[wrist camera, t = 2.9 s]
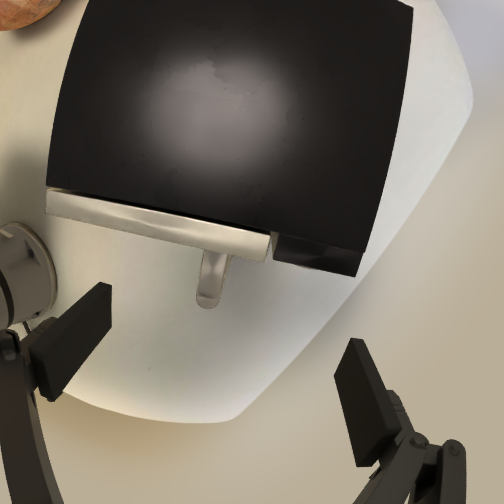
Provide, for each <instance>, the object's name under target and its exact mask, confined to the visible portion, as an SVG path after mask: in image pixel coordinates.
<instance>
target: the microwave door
mask: <svg viewBox="0 0 504 504" xmlns="http://www.w3.org/2000/svg"><path fill="white" fill-rule="evenodd" d="M45 213H46V214H50V215H55V216H59V217H63V218H68V219H72V220H76V221H81V222H85V223H89V224H94V225H98V226H103V227H107V228H111V229H116V230H120V231H124V232H129V233H133V234H138V235H142V236H147V237H151V238H155V239H160V240H164V241H169V242H173V243H178V244H182V245H187V246H191V247H196V248H200V249H204V253H203V259H202V265H201V271H200V277H199V283H198V289H197V295H196V301H197V303H198V304H199V306H201V307H202V308H204V309H212V308H214V307H216V306H217V304H218V302H219V299H220V295H221V292H222V289H223V285H224V282H225V279H226V275H227V272H228V269H229V265H230V262H231V259H232V256H237V257H241V258H246V259H250V260H255V261H259V262H265V259H266V255H267V251H268V247H269V243H270V238H271V231H268V230H263V229H259V228H254V227H250V226H245V225H241V224H236V223H232V222H227V221H222V220H218V219H213V218H208V217H203V216H199V215H194V214H189V213H184V212H179V211H175V210H170V209H165V208H160V207H155V206H150V205H145V204H140V203H135V202H130V201H124V200H119V199H114V198H109V197H103V196H98V195H93V194H87V193H82V192H77V191H71V190H65V189H60V188H53V189H48V190H47V192H46V212H45Z"/></svg>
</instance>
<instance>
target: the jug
mask: <svg viewBox="0 0 504 504" xmlns="http://www.w3.org/2000/svg"><path fill="white" fill-rule="evenodd" d="M61 1H62V0H0V31H7V30H13V29H18V28H21V27H25V26H27V25H29V24H31V23H33V22H35V21H37V20H39V19H41V18H43V17H45V16H46V15H47V14H49V13H50V12H51V11H52V10H53V9H54V8H56V7H57V6H58V4H59V3H60V2H61Z"/></svg>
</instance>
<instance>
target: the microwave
mask: <svg viewBox="0 0 504 504" xmlns="http://www.w3.org/2000/svg"><path fill="white" fill-rule="evenodd" d="M413 9H414V8H413V7H412V6H410V5H408V4H405V3H403V2H401V1H399V0H89V2H88V4H87V7H86V9H85V12H84V14H83V17H82V20H81V22H80V25H79V28H78V31H77V33H76V36H75V39H74V42H73V46H72V49H71V52H70V55H69V59H68V62H67V66H66V69H65V73H64V77H63V81H62V85H61V89H60V93H59V98H58V103H57V107H56V112H55V118H54V123H53V129H52V135H51V142H50V149H49V157H48V166H47V176H46V186H49V187H54V188H60V189H65V190H71V191H77V192H82V193H87V194H93V195H98V196H103V197H109V198H114V199H119V200H124V201H130V202H135V203H140V204H145V205H150V206H155V207H160V208H165V209H170V210H175V211H179V212H184V213H189V214H194V215H199V216H203V217H208V218H213V219H218V220H222V221H227V222H232V223H236V224H241V225H245V226H250V227H254V228H259V229H263V230H268V231H271V242H272V253H273V260H277V261H281V262H286V263H290V264H294V265H297V266H300V267H303V268H308V269H315V270H322V271H327V272H332V273H336V274H341V275H346V276H350V277H356V274H357V271H358V268H359V265H360V262H361V259H362V256H363V253H365V251H366V247H367V244H368V241H369V238H370V235H371V231H372V228H373V225H374V221H375V218H376V214H377V211H378V207H379V203H380V200H381V196H382V192H383V188H384V185H385V181H386V177H387V173H388V169H389V164H390V160H391V156H392V151H393V147H394V142H395V137H396V133H397V128H398V123H399V117H400V112H401V107H402V101H403V95H404V89H405V82H406V76H407V69H408V61H409V53H410V44H411V34H412V23H413Z"/></svg>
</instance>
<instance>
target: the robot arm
mask: <svg viewBox="0 0 504 504" xmlns="http://www.w3.org/2000/svg"><path fill="white" fill-rule="evenodd" d="M56 290H57V282H56V274H55V269H54V266H53V263H52V260H51V257H50V255H49V253H48V251H47V249H46V247H45V245H44V244H43V242H42V241H41V239H40V238H39V237H38V236H37V235H36V233H34V232H33V231H32V230H31V229H30V228H28V227H27V226H25V225H23V224H20V223H10V224H7V225H4V226H2V227H0V446H1V452H2V459H3V464H4V470H5V475H6V480H7V484H8V488H9V492H10V496H11V501H12V504H64V502H63V499H62V497H61V494H60V491H59V488H58V486H57V482H56V480H55V477H54V473H53V470H52V467H51V464H50V460H49V457H48V453H47V449H46V445H45V442H44V438H43V433H42V429H41V424H40V420H39V415H38V410H37V404H36V399H35V394H34V390H35V389H36V388H37V387H38V388H39V391H40V394H41V396H43V397H45V398H47V400H48V401H49V402H54V401H55V400H56V399H57V398H58V397H59V396H60V395H62V393H63V389H64V388H65V387H66V385H67V384H68V383H69V381H70V380H71V379H72V377H73V376H74V375H75V373H76V372H77V371H78V369H79V368H80V367H81V365H82V364H83V363H84V362H85V360H86V359H87V358H88V356H89V355H90V354H91V353H92V351H93V350H94V349H95V347H96V346H97V345H98V344H99V342H100V341H101V340H102V339H103V337H104V336H105V335H106V334H107V332H108V331H109V330H110V329H111V327H112V316H111V302H112V285H110V284H106V283H103V282H99V283H98V284H97V285H95V286H94V287H93V288H92V289H91V290H90V291H88V292H87V293H86V294H85V295H84V296H83V297H82V298H80V299H79V300H78V301H77V302H76V303H75V304H74V305H72V306H71V307H70V308H69V309H68V310H67V311H66V312H65V313H64V314H62V315H61V316H60V317H59V318H58V319H57V318H55V317H50V318H48V319H46V320H44V321H42V322H41V323H40V324H39V325H38V326H37V327H36V328H35V329H33V331H30V329H29V327H28V325H27V322H26V321H27V320H31V319H35V318H37V317H39V316H41V315H43V314H44V313H45V312H46V311H48V310H49V309H50V308H51V306H52V305H53V303H54V300H55V297H56ZM20 322H22V323H23V325H24V327H25V330H26V332H27V334H28V335H27V336H26V337H25V338H24V339H22V340H21V341H20V340H19V336H18V333H17V332H15V331H14V330H11V329H7V328H8V327H10V326H11V325H12V324H16V323H20ZM334 379H335V383H336V386H337V390H338V394H339V398H340V402H341V405H342V409H343V413H344V417H345V421H346V425H347V429H348V433H349V437H350V441H351V445H352V450H353V454H354V458H355V463H356V466H357V467H372V466H373V464H374V463H375V462H376V461H377V460H379V463H380V466H379V468H378V469H377V470H376V471H375V472H374V473H373V474H372V475H371V476H370V477H369V479H370V480H369V482H368V483H367V485H366V486H365V487H364V489H363V490H362V492H361V493H360V494H359V496H358V497H357V499H356V500H355V502H354V503H353V504H404V502H405V500H406V498H407V497H408V494H409V493H410V496H409V500H408V504H466V451H465V448H464V446H463V445H462V444H461V443H460V442H459V441H456V440H452V439H450V440H447V441H446V442H445V443H444V444H443V445H442V446H439V445H433V444H429V441H428V440H427V438H426V437H425V436H424V435H422V434H421V433H418V432H415V431H414V429H413V426H412V424H411V422H410V420H409V417H408V416H407V413H406V412H405V409H404V407H403V406H402V405H403V404H402V402H401V400H400V398H399V396H398V395H397V394H396V393H395V392H394V391H393V390H386V388H385V386H384V383H383V381H382V379H381V377H380V375H379V373H378V370H377V368H376V366H375V364H374V361H373V359H372V357H371V355H370V353H369V351H368V349H367V346H366V344H365V343H364V340H363V339H357V338H350V341H349V343H348V345H347V348H346V350H345V352H344V354H343V357H342V359H341V361H340V363H339V365H338V368H337V370H336V372H335V374H334Z"/></svg>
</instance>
